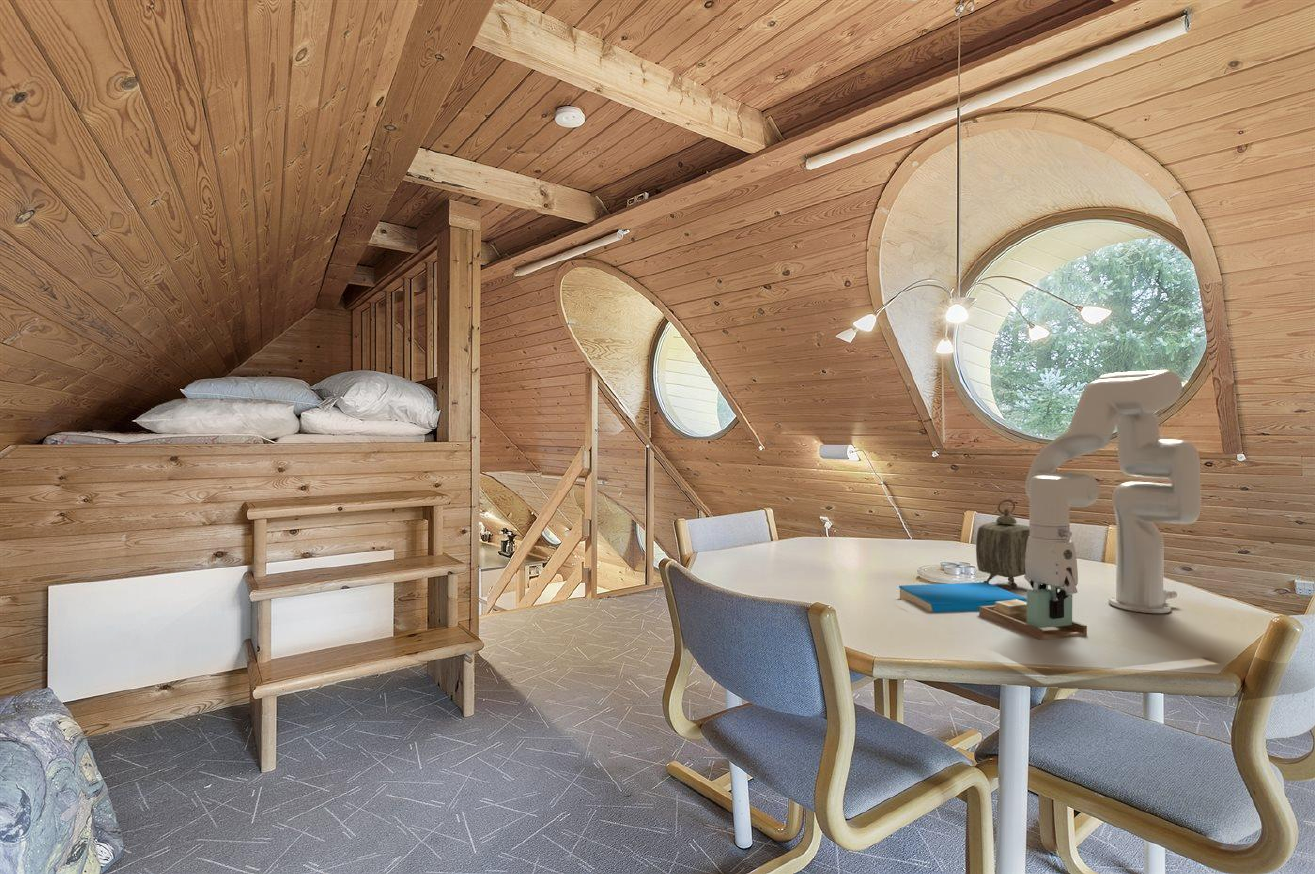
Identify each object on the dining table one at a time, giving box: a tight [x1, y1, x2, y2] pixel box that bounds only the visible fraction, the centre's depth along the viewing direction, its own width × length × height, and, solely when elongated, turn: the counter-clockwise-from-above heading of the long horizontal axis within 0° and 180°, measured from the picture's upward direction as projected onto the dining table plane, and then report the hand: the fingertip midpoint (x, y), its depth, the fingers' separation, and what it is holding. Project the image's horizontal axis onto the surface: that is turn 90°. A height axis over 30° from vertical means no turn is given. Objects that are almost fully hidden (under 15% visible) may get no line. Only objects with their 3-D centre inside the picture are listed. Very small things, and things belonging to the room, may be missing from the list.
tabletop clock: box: [975, 498, 1030, 589], centre depth 182 cm, size 14×9×25 cm, turn 115°
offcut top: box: [995, 599, 1027, 614], centre depth 150 cm, size 6×4×2 cm, turn 107°
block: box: [1026, 587, 1073, 628], centre depth 141 cm, size 9×3×8 cm, turn 103°
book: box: [898, 581, 1027, 613], centre depth 165 cm, size 17×4×25 cm
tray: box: [978, 605, 1088, 641], centre depth 145 cm, size 12×18×3 cm, turn 13°
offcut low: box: [994, 609, 1027, 621], centre depth 150 cm, size 7×4×2 cm, turn 103°
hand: (1049, 614), depth 141 cm, fingers closed on block, 3 cm apart
